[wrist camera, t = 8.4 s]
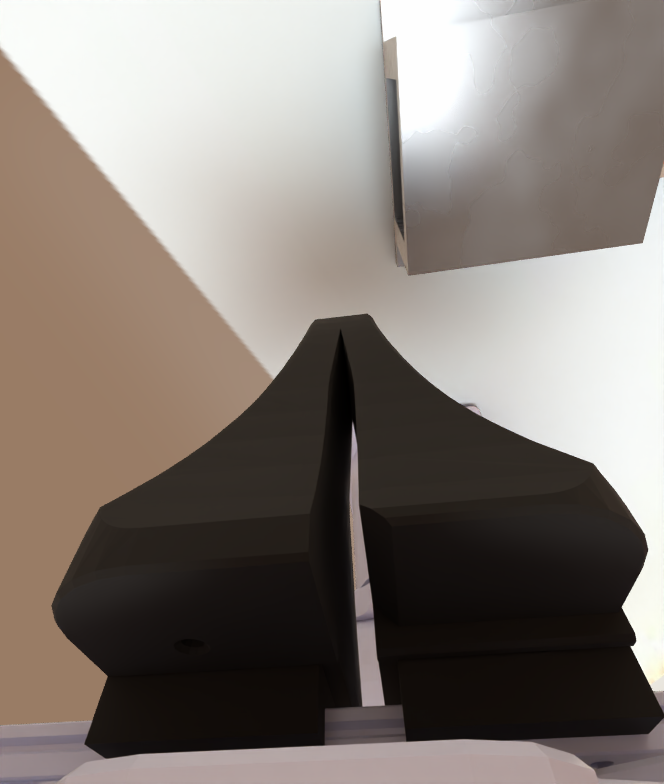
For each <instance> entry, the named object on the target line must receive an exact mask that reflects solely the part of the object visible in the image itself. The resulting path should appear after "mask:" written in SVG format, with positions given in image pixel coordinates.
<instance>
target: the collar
mask: <svg viewBox="0 0 664 784" xmlns="http://www.w3.org/2000/svg"><path fill="white" fill-rule="evenodd" d="M380 10H381V26H382V42H383V57H384V73H385V89H386V104H387V120H388V136H389V151H390V167H391V183H392V199H393V214H394V230H395V246H396V261H397V266H398V267H400V266H405V268H406V271H407V274H408V276H409V275H416V274H423V273H431V272H438V271H445V270H452V269H459V268H467V267H474V266H481V265H488V264H495V263H503V262H510V261H517V260H524V259H531V258H539V257H546V256H553V255H560V254H567V253H575V252H582V251H589V250H596V249H603V248H611V247H618V246H625V245H632V244H639V243H643V240H644V236H645V232H646V228H647V224H648V221H649V217H650V213H651V209H652V205H653V201H654V198H655V194H656V190H657V186H658V182H659V178H660V175H661V171H662V167H663V164H664V0H380Z"/></svg>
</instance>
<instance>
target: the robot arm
mask: <svg viewBox="0 0 664 784" xmlns="http://www.w3.org/2000/svg"><path fill="white" fill-rule="evenodd" d="M350 506H351V511H352V516H353V532H354V554H355V575H356V577H355V578H356V590H354V579H353V563H352V547H351V531H350ZM647 552H648V547H647V542H646V538H645V534H644V533H643V531H642V529H641V528H640V526H639V525H638V523H637V522H636V520H635V519H634V517H633V516H632V514H631V513H630V511H629V509H628V508H627V506H626V505H625V503H624V502H623V501H622V499H621V498H620V497H619V495H618V494H617V492H616V491H615V490H614V488H613V487H612V486H611V485H610V484H609V483H608V481H607V480H606V479H605V478H604V477H603V475H602V474H601V473H600V472H599V470H598V469H597V468H596V466H595V465H594V464H593V463H590V462H588V461H585V460H582V459H580V458H577V457H574V456H572V455H569V454H566V453H563V452H561V451H558V450H555V449H553V448H550V447H547V446H544V445H542V444H539V443H536V442H534V441H532V440H529V439H527V438H525V437H523V436H520V435H518V434H516V433H514V432H512V431H510V430H507V429H505V428H503V427H501V426H499V425H497V424H495V423H493V422H491V421H489V420H487V419H485V418H483V417H482V416H481V413H480V411H479V409H478V408H477V407H475V406H467V407H464V406H463V405H461V404H459V403H458V402H456V401H455V400H453V399H452V398H450V397H449V396H447V395H446V394H444V393H443V392H442V391H440V390H439V389H438V388H436V387H435V386H434V385H432V384H431V383H430V382H429V381H428V380H426V379H425V378H424V377H423V376H422V375H421V374H420V373H419V372H417V371H416V370H415V369H414V368H413V367H412V366H411V365H410V364H409V363H408V362H407V361H406V360H405V359H404V358H403V357H402V356H401V355H400V354H399V353H398V351H397V350H396V349H395V348H394V347H393V346H392V345H391V344H390V342H389V341H388V340H387V339H386V337H385V336H384V335H383V334H382V332H381V331H380V329H379V328H378V327H377V325H376V323H375V322H374V320H373V318H372V317H371V316H370V315H368V314H361V315H352V316H344V317H335V318H326V319H317V320H315V321H314V322H313V323H312V324H311V326H310V327H309V329H308V331H307V333H306V334H305V336H304V338H303V339H302V341H301V342H300V344H299V346H298V347H297V349H296V350H295V352H294V353H293V355H292V356H291V357H290V359H289V360H288V362H287V363H286V365H285V366H284V367H283V369H282V370H281V371H280V373H279V374H278V375H277V376H276V378H275V379H274V380H273V381H272V383H271V384H270V385H269V386H268V387H267V389H266V390H265V391H264V392H263V393H262V394H261V396H260V397H259V398H258V399H257V400H256V401H255V402H254V403H253V404H252V405H251V406H250V407H249V408H248V409H247V410H246V411H244V412H243V413H242V414H241V415H240V416H239V417H238V418H237V419H236V420H234V421H233V422H232V423H231V424H229V425H228V426H227V427H226V428H225V429H223V430H222V431H221V432H220V433H218V434H217V435H216V436H215V437H213V438H212V439H211V440H210V441H208V442H207V443H206V444H205V445H203V446H202V447H200V448H199V449H197V450H196V451H195V452H193V453H192V454H191V455H189V456H188V457H186V458H184V459H183V460H182V461H180V462H178V463H177V464H175V465H174V466H172V467H171V468H169V469H168V470H166V471H164V472H163V473H161V474H159V475H158V476H156V477H154V478H153V479H151V480H149V481H147V482H146V483H144V484H142V485H140V486H138V487H137V488H135V489H133V490H131V491H130V492H128V493H126V494H124V495H122V496H120V497H119V498H117V499H115V500H113V501H111V502H109V503H107V504H105V505H104V506H102V507H100V509H99V510H98V512H97V514H96V516H95V517H94V519H93V521H92V523H91V525H90V527H89V529H88V530H87V532H86V534H85V537H84V538H83V540H82V542H81V544H80V546H79V548H78V550H77V552H76V554H75V556H74V558H73V560H72V562H71V565H70V567H69V569H68V571H67V573H66V575H65V577H64V579H63V581H62V583H61V585H60V587H59V589H58V591H57V593H56V596H55V598H54V601H53V603H52V610H53V614H54V619H55V621H56V623H57V625H58V627H59V628H60V629H61V630H62V632H63V633H64V634H65V636H66V637H67V638H68V639H69V640H70V641H71V642H72V643H73V644H74V645H75V646H76V647H77V648H78V649H80V650H81V651H82V652H83V653H84V654H85V655H86V656H87V657H88V658H89V659H90V660H91V661H92V662H94V664H96V665H97V666H98V667H99V668H100V669H101V670H102V671H103V672H104V673H105V674H106V675H107V676H108V678H107V680H106V683H105V686H104V689H103V692H102V695H101V697H100V700H99V703H98V706H97V709H96V712H95V714H94V717H93V720H92V721H76V722H58V723H38V724H18V725H0V784H664V691H654V692H653V691H652V689H651V687H650V685H649V683H648V681H647V679H646V677H645V675H644V673H643V671H642V669H641V667H640V665H639V663H638V661H637V659H636V657H635V655H634V653H633V651H632V649H631V647H630V646H634V644H635V643H636V636H635V632H634V630H633V628H632V627H631V625H630V623H629V621H628V619H627V617H626V615H625V613H624V611H623V609H622V605H623V603H624V602H625V600H626V598H627V596H628V594H629V592H630V591H631V589H632V587H633V585H634V583H635V581H636V579H637V578H638V576H639V574H640V572H641V570H642V568H643V566H644V562H645V559H646V556H647Z"/></svg>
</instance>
